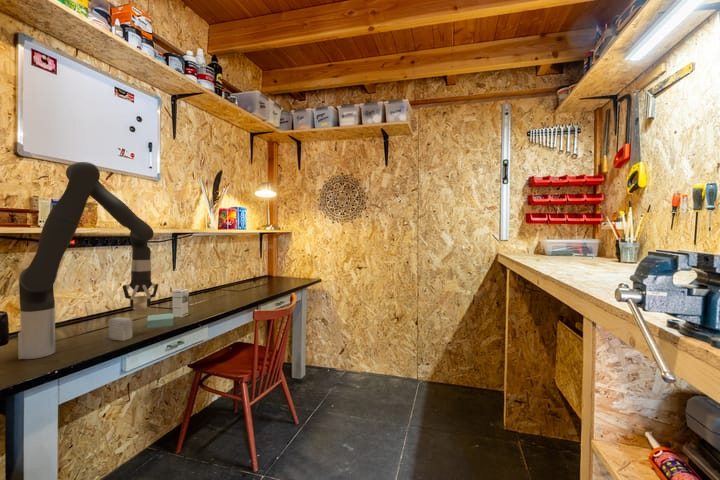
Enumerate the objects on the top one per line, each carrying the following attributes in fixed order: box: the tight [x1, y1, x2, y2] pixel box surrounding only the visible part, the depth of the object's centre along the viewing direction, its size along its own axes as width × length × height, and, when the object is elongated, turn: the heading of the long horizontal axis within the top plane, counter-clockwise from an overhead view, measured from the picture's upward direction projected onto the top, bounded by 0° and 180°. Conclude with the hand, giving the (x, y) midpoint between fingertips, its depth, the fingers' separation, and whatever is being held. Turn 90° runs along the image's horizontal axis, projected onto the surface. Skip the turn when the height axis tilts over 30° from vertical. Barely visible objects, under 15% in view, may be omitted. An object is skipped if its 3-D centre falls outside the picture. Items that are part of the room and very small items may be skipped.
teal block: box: [146, 312, 174, 329], centre depth 166 cm, size 11×11×4 cm
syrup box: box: [172, 288, 190, 318], centre depth 182 cm, size 6×6×14 cm
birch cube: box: [132, 295, 148, 311], centre depth 151 cm, size 5×5×5 cm
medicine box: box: [108, 316, 133, 342], centre depth 144 cm, size 8×4×9 cm, turn 74°
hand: (140, 306), depth 151 cm, fingers closed on birch cube, 5 cm apart
